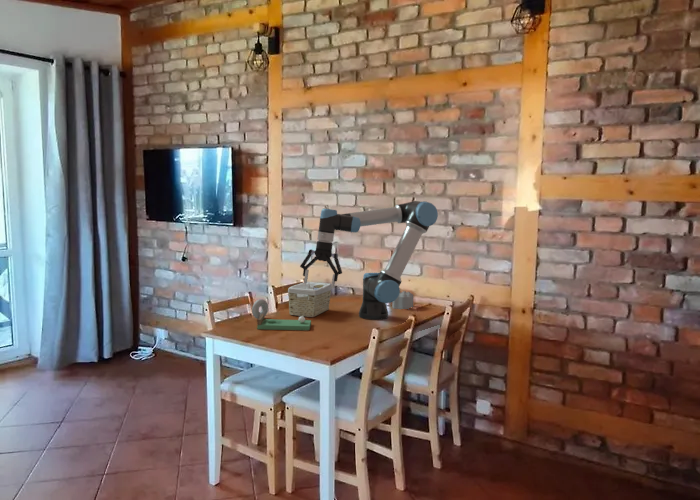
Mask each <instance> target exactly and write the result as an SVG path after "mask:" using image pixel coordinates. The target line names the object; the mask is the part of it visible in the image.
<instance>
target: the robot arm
mask: <svg viewBox="0 0 700 500" xmlns="http://www.w3.org/2000/svg"><path fill="white" fill-rule="evenodd" d="M438 218H439V212H438V209H437V208H436V206H435V205H434V204H433V203H431V202H429V201H421V200H420V201H419V200H413V201H409V202H405V203H401V204H400V203H399V204H395V206H392V207H385V208H378V209H371V210H363V211H356V212H349V213H347V212H346V213H338V210H337V209H330V208H322V209H321V211H320V216H319V222H318V223H319V224H318V231H317V241H316V246H315V250H313V248H312V249H309V250H308V254H307V255H306V257H305V258H304V259H303V261H302V262H301V264H300V266H299V267H300V268H301V269H302V270H303V272H302V276H303V277H304V278H303V279H304V280H303V283H304V284H306V283H307V282H308V277H309V268H310V267H311V266H312V265H313V264H315V262H316V261H320V262H321V261H322V262H327V264H328V265H329V267H330V269H331V270H332V272H333V274H332V277H331V278H332V280H331V289H334V288H335V285H336V284H335V283H336V282H338V277H339V275H341V274H343V271H342V267H341V264H340V260H339V253H332V252H333V245H334V244H333V242H334V237H335V236H334V235H335V231H340V232H348V233H359V232H360V229H361V228H362V227H366V226H367V227H368V226H375V225H376V226H377V225H382V224H388V223H389V224H390V223H391V224H392V223H397V224H404V223H405V225H406V226H405V229H404V231H403V233H402V235H401V237H400V238H399V241H398V242H397V245H396V247H395V249H394V251H393V252H392V255H391V257H390V259H389V261H388V263H387V264H386V267H385V268H384V269H383V270H380V272H364V273H363V278H362V303H361V305H360V308H359V311H358V317H359V318H361V319H365V320H372V321H373V320H375V321H376V320H377V321H379V320H385V319H388V318H389V311H388V307H387V304H390V303H391V304H392V302H393V301H395V300H396V299H397V298H398V296H399V293H401V289H400V286H401V284H402V275H403V273H404V271H405V269H406V266H407V265H408V262H410V258H411V257H412V255H413V253H414V251H415V249H416V247H417V245H418V243H419V241H420V239H421V236H422V235H423V234H426V233H427V232H428V230H429V228H430V227H431V226H433V225H435V223H436V222H437V220H438ZM312 255H315V256H314V257H313V259H311V261H309V260H310V258H311V257H312ZM331 257H332V258H333V260H334V263H335V264H334V263H333V262H332V261H333V260H332V259H331Z"/></svg>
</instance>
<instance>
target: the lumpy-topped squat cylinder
mask: <svg viewBox="0 0 700 500" xmlns="http://www.w3.org/2000/svg"><path fill="white" fill-rule="evenodd" d="M391 304H392V309H396V310H401V309H408V310H410V309H409V308H411V307H413V308H414V294H413V293H411V292H410V291H405V290H403V291H402V292H401V291H400V293H399V296H398V298H397V299H396V300H395V301H393V302H391Z"/></svg>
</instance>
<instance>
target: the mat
mask: <svg viewBox="0 0 700 500" xmlns="http://www.w3.org/2000/svg"><path fill="white" fill-rule="evenodd" d="M256 326H257V327H256V329H257V330H270V331H271V330H274V331H276V330H277V331H279V330H280V331H281V330H283V331H310V330H311V326H312V319H311V320H310V319H305V322H304V323H300V322H299V321H298V319H270V318H266V319H264V321H263V322H262V324H261V325H256Z"/></svg>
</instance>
